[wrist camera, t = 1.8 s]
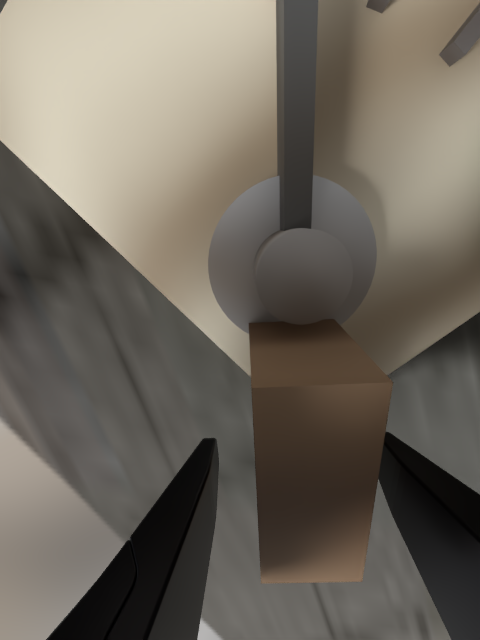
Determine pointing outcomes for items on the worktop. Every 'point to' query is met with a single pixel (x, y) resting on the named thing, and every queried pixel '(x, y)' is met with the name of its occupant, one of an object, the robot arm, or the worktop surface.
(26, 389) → the worktop surface
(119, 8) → the dial board
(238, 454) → the worktop surface
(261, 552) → the gauge needle
